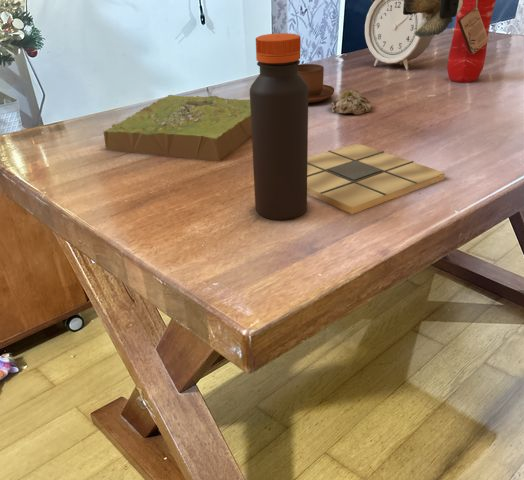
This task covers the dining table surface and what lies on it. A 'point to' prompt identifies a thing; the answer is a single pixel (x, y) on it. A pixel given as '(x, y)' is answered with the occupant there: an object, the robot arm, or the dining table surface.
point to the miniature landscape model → (184, 128)
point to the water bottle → (470, 40)
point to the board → (364, 177)
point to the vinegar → (279, 128)
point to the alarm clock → (394, 33)
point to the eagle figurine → (429, 16)
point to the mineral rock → (351, 103)
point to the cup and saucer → (315, 82)
